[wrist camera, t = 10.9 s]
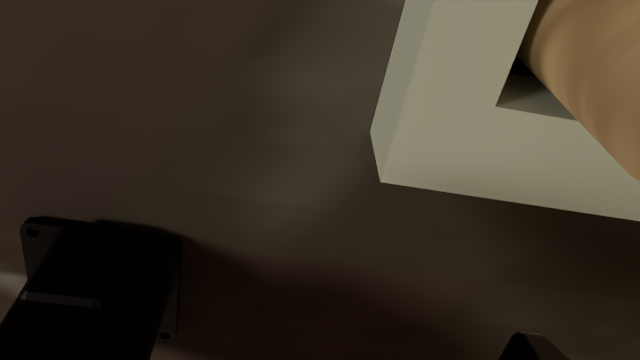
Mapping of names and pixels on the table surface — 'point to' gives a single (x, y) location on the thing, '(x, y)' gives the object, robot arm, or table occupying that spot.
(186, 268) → the table surface
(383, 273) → the table surface
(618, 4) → the peg
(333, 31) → the table surface
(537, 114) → the socket block
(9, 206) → the table surface
